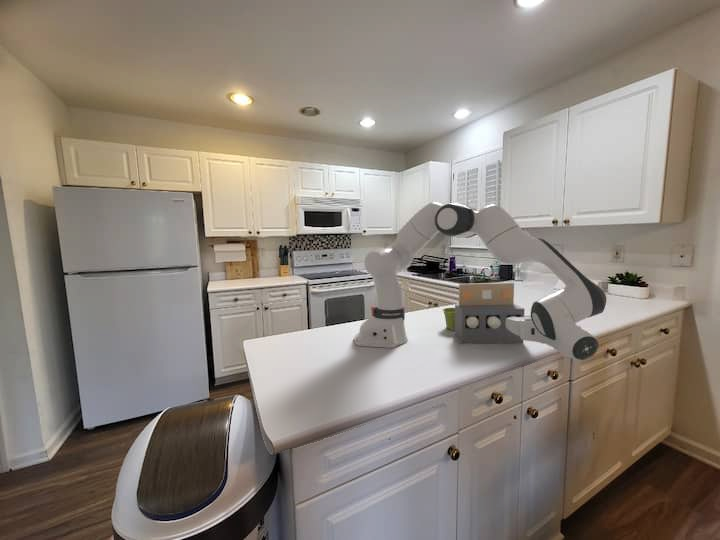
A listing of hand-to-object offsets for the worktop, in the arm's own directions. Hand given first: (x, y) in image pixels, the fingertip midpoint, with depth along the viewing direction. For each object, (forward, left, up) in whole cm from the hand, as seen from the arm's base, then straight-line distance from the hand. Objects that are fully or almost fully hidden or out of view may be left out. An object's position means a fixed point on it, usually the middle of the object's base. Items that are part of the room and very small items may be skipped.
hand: (527, 317), depth 106 cm
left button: (-16, +10, -6) cm, 20 cm away
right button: (0, +9, -6) cm, 11 cm away
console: (-8, +14, -13) cm, 21 cm away
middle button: (-8, +9, -6) cm, 14 cm away
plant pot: (-18, +29, -13) cm, 37 cm away
